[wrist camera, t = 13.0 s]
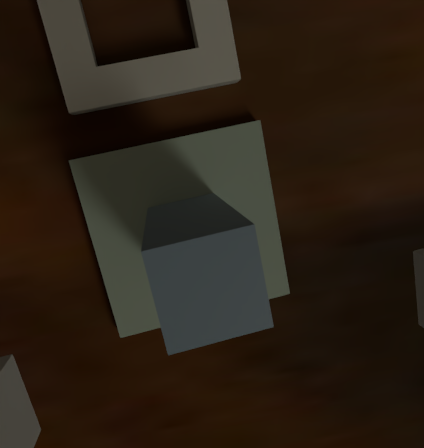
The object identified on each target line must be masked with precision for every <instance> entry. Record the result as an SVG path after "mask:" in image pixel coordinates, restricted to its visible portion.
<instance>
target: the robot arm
mask: <svg viewBox="0 0 424 448" xmlns="http://www.w3.org/2000/svg"><path fill="white" fill-rule="evenodd" d="M413 257H414V270H415V283H416V295H417V308H418V321H419V325H420V326H422V327H423V328H424V249H420V250H416V251H413ZM40 431H41V428H40V425H39V423H38V420H37V418H36V415H35V412H34V410H33V407H32V404H31V402H30V399H29V396H28V394H27V391H26V388H25V386H24V383H23V381H22V378H21V375H20V373H19V370H18V367H17V365H16V362H15V359H14V357H13V354H11V355H7V356H3V357H0V448H34V445H35V443H36V440H37V438H38V436H39V433H40Z"/></svg>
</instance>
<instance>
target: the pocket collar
mask: <svg viewBox="0 0 424 448" xmlns="http://www.w3.org/2000/svg"><path fill="white" fill-rule="evenodd" d="M37 3H38V6H39V10H40V14H41V17H42V21H43V24H44V28H45V31H46V35H47V38H48V42H49V45H50V49H51V52H52V56H53V59H54V63H55V66H56V70H57V73H58V77H59V80H60V84H61V87H62V91H63V94H64V98H65V102H66V105H67V109H68V112H69V113H70V114H72V115H77V114H82V113H87V112H92V111H97V110H102V109H107V108H112V107H117V106H122V105H127V104H132V103H137V102H142V101H147V100H152V99H157V98H162V97H167V96H172V95H177V94H182V93H187V92H192V91H197V90H202V89H207V88H212V87H217V86H222V85H227V84H232V83H237V82H238V81H239V80H240V79H241V76H240V71H239V65H238V59H237V54H236V48H235V42H234V37H233V31H232V26H231V20H230V14H229V9H228V3H227V0H186V3H187V8H188V13H189V18H190V23H191V28H192V33H193V38H194V43H195V48H194V49H189V50H184V51H178V52H173V53H168V54H162V55H157V56H152V57H146V58H141V59H136V60H130V61H125V62H120V63H114V64H109V65H104V66H98V65H97V61H96V57H95V53H94V49H93V45H92V41H91V38H90V34H89V30H88V26H87V22H86V18H85V14H84V11H83V7H82V3H81V0H37Z"/></svg>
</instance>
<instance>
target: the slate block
mask: <svg viewBox="0 0 424 448" xmlns="http://www.w3.org/2000/svg"><path fill="white" fill-rule="evenodd" d="M141 254H142V258H143V261H144V265H145V269H146V273H147V277H148V280H149V284H150V288H151V292H152V296H153V299H154V303H155V307H156V311H157V315H158V318H159V322H160V326H161V330H162V334H163V337H164V341H165V345H166V349H167V353H168V355H171V354H175V353H179V352H182V351H186V350H190V349H193V348H197V347H201V346H205V345H208V344H212V343H216V342H219V341H223V340H227V339H230V338H234V337H238V336H242V335H245V334H249V333H253V332H256V331H260V330H264V329H267V328H271V327H274V326H273V321H272V315H271V310H270V305H269V299H268V294H267V289H266V283H265V278H264V272H263V267H262V262H261V256H260V251H259V246H258V240H257V235H256V230H255V224H253V223H252V222H251V221H250V220H248V219H247V218H246V217H244V216H243V215H242V214H240V213H239V212H238V211H236V210H235V209H234V208H233V207H231V206H230V205H229V204H227V203H226V202H225V201H223V200H222V199H221V198H219V197H218V196H217V195H216V194H214V193H211V194H206V195H202V196H198V197H193V198H189V199H184V200H180V201H176V202H171V203H167V204H163V205H158V206H154V207H149V208H148V210H147V216H146V222H145V229H144V235H143V242H142V248H141Z"/></svg>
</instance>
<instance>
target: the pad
mask: <svg viewBox="0 0 424 448" xmlns="http://www.w3.org/2000/svg"><path fill="white" fill-rule="evenodd" d="M69 164H70V167H71V171H72V174H73V178H74V181H75V184H76V188H77V191H78V195H79V198H80V202H81V205H82V208H83V212H84V215H85V219H86V222H87V225H88V229H89V232H90V236H91V239H92V243H93V246H94V249H95V253H96V256H97V260H98V263H99V267H100V270H101V273H102V277H103V280H104V284H105V287H106V290H107V294H108V297H109V301H110V304H111V308H112V311H113V314H114V318H115V321H116V325H117V328H118V331H119V335H120V338H122V337H126V336H130V335H134V334H137V333H141V332H145V331H149V330H153V329H156V328H160V327H161V326H160V322H159V318H158V315H157V311H156V307H155V303H154V299H153V296H152V292H151V288H150V284H149V280H148V277H147V273H146V269H145V265H144V261H143V258H142V254H141V248H142V242H143V235H144V229H145V222H146V216H147V210H148V208H149V207H154V206H158V205H163V204H167V203H171V202H176V201H180V200H184V199H189V198H193V197H198V196H202V195H206V194H211V193H214V194H216V195H217V196H218V197H219V198H221V199H222V200H223V201H225V202H226V203H227V204H229V205H230V206H231V207H233V208H234V209H235V210H236V211H238V212H239V213H240V214H242V215H243V216H244V217H246V218H247V219H248V220H250V221H251V222H252V223H253V224H255V230H256V235H257V240H258V246H259V251H260V256H261V262H262V267H263V272H264V278H265V283H266V289H267V294H268V299H271V298H275V297H279V296H282V295H286V294H290V291H289V286H288V280H287V274H286V268H285V262H284V256H283V251H282V245H281V239H280V233H279V227H278V221H277V216H276V210H275V204H274V198H273V192H272V186H271V181H270V175H269V169H268V163H267V157H266V151H265V146H264V140H263V134H262V128H261V122H260V120H258V121H253V122H249V123H244V124H239V125H234V126H230V127H225V128H220V129H215V130H211V131H206V132H201V133H197V134H192V135H187V136H182V137H178V138H173V139H168V140H163V141H159V142H154V143H149V144H144V145H140V146H135V147H130V148H125V149H121V150H116V151H111V152H107V153H102V154H97V155H92V156H88V157H83V158H78V159H73V160H69Z"/></svg>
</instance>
